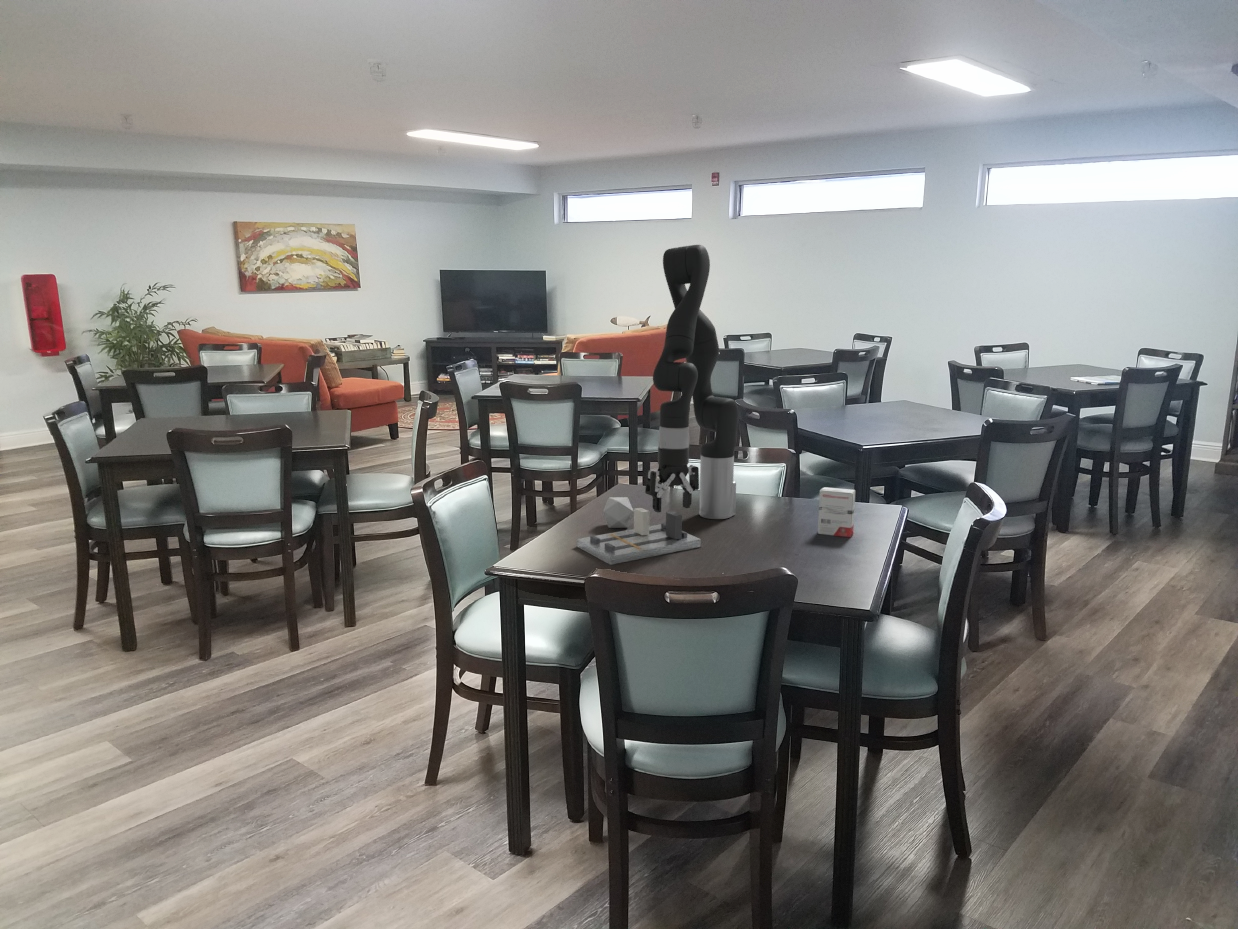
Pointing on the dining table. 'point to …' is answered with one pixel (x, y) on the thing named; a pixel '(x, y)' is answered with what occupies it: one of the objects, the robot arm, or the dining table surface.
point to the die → (618, 512)
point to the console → (635, 544)
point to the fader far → (641, 521)
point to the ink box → (836, 512)
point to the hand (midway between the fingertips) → (671, 509)
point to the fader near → (674, 525)
